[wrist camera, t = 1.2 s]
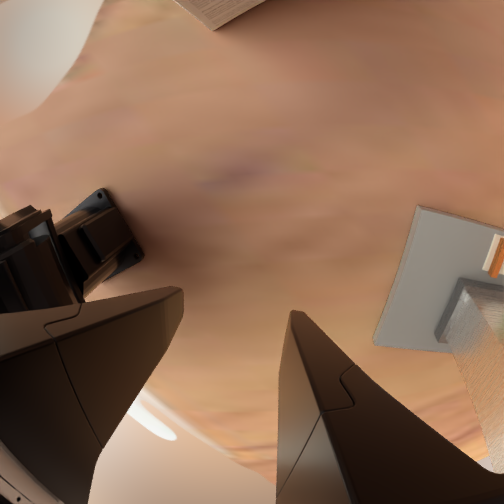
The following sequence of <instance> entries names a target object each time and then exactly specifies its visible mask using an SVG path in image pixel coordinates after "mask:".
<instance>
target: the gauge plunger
mask: <svg viewBox="0 0 504 504" xmlns="http://www.w3.org/2000/svg"><path fill="white" fill-rule="evenodd" d="M503 261H504V238H500V241H499V244H498V247H497V249H496V252H495V255H494V258H493V260H492V263H491V266H490V268H489V271H488V274H489V275H490V277H493V278H497V276H498V274H499V271H500V269H501V266H502V264H503ZM434 335H435V337H436V339H437V342H438V343H446V344H449V346H450V348H451V351H452V353H453V355H454V357H455V360H456V362H457V365H458V367H459V369H460V372H461V374H462V377H463V379H464V382H465V384H466V387H467V389H468V392H469V394H470V397H471V400H472V403H473V405H474V408H475V411H476V414H477V417H478V420H479V423H480V426H481V429H482V432H483V435H484V438H485V441H486V445H487V448H488V451H489V455H490V459H491V462H492V466H493V470H494V473H499V474H502V473H504V286H502V285H497V284H492V283H486V282H481V281H476V280H471V279H466V278H461V277H459V278H458V280H457V283H456V285H455V288H454V290H453V292H452V295H451V297H450V299H449V302H448V304H447V306H446V308H445V311H444V313H443V315H442V317H441V319H440V321H439V323H438V325H437V328H436V330H435V332H434Z"/></svg>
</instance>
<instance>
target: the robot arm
mask: <svg viewBox="0 0 504 504" xmlns="http://www.w3.org/2000/svg"><path fill="white" fill-rule="evenodd" d="M100 193H101V194H102V197H101V195H100ZM51 217H52V213H51V210H50V209H48V210H45V211H43V212H42V211H41V210H36V209H35V208H33V207H32V206H31V205H29V206H27V207H25V208H23V209H21V210H19V211H17V212H15V213H13V214H11V215H9V216H7V217H5V218H3V219H1V220H0V504H88V499H89V493H90V489H91V483H92V479H93V474H94V470H95V465H96V462H97V460H98V457H99V455H100V453H101V452H102V449H103V448H104V447H105V445H106V443H107V442H108V440H109V439H110V437H111V436H112V434H113V433H114V431H115V429H116V428H117V426H118V425H119V423H120V422H121V420H122V418H123V417H124V415H125V414H126V412H127V411H128V409H129V408H130V406H131V405H132V403H133V401H134V400H135V398H136V397H137V395H138V394H139V392H140V391H141V389H142V388H143V386H144V384H145V383H146V381H147V380H148V378H149V377H150V375H151V374H152V372H153V371H154V369H155V368H156V366H157V365H158V363H159V361H160V360H161V358H162V357H163V355H164V354H165V352H166V351H167V349H168V347H169V345H170V343H171V341H172V339H173V336H174V334H175V332H176V330H177V328H178V326H179V324H180V322H181V319H182V317H183V313H184V292H183V289H181V288H178V287H173V286H169V287H164V288H159V289H154V290H149V291H144V292H139V293H133V294H128V295H123V296H118V297H113V298H108V299H102V300H97V301H92V302H85V299H84V298H85V297H87V296H88V295H89V294H90V293H91V292H92V291H93V290H94V289H95V288H96V287H97V286H98V285H99V284H100V283H101V282H103V281H105V280H107V279H109V278H111V277H112V276H114V275H116V274H118V273H120V272H122V271H123V270H125V269H127V268H129V267H131V266H133V265H135V264H136V263H138V262H140V261H141V260H142V259H143V258H144V253H143V251H142V249H141V248H140V246H139V244H138V243H137V241H136V240H135V238H134V236H133V235H132V233H131V231H130V230H129V228H128V226H127V225H126V223H125V221H124V220H123V218H122V216H121V215H120V213H119V211H118V210H117V208H116V206H115V205H114V203H113V201H112V199H111V198H110V196H109V194H108V192H107V191H106V190H105V189H104V188H100V189H98V190H96V191H95V192H94V193H93V194H91V195H90V196H89V197H88V198H87V199H85V200H84V201H83V202H82V203H81V204H79V205H78V206H77V207H76V208H75V209H74V210H72V211H71V212H70V213H69V214H68V215H67V216H66V217H64V218H63V219H62V220H60V221H59V222H57V223H55V224H53V221H52V218H51ZM136 253H137V254H138V255H139V257H138V256H137V255H136ZM276 504H504V473H502V474H499V473H494V472H490V471H488V470H487V469H485V468H483V467H482V466H481V465H479V464H478V463H477V462H476V461H474V460H473V459H472V458H470V457H469V456H468V455H466V454H465V453H464V452H462V451H461V450H460V449H458V448H457V447H456V446H455V445H453V444H452V443H451V442H449V441H448V440H447V439H445V438H444V437H443V436H442V435H440V434H439V433H438V432H436V431H435V430H434V429H433V428H431V427H430V426H429V425H428V424H426V423H425V422H424V421H422V420H421V419H420V418H419V417H417V416H416V415H415V414H414V413H412V412H411V411H410V410H408V409H407V408H406V407H405V406H403V405H402V404H401V403H400V402H398V401H397V400H396V399H395V398H393V397H392V396H391V395H390V394H388V393H387V392H386V391H385V390H384V389H382V388H381V387H380V386H379V385H378V384H376V383H375V382H374V381H373V380H372V379H371V378H370V377H369V376H368V375H367V374H366V373H365V372H364V371H363V370H362V369H361V368H360V367H359V366H358V365H355V363H354V362H353V361H352V360H351V359H350V358H349V357H348V356H347V355H346V354H345V353H344V352H343V351H342V350H341V349H340V348H339V347H338V346H337V345H336V344H335V343H334V342H333V341H332V340H331V339H330V338H329V337H328V336H327V335H326V334H325V333H324V332H323V331H322V330H321V329H320V328H319V327H318V326H317V325H316V324H315V323H314V322H313V321H312V320H311V319H310V318H309V317H308V316H307V314H306V313H304V312H302V311H296V310H291V312H290V315H289V320H288V325H287V329H286V334H285V339H284V345H283V351H282V357H281V363H280V370H279V400H278V451H277V484H276Z"/></svg>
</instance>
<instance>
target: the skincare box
mask: <svg viewBox="0 0 504 504" xmlns="http://www.w3.org/2000/svg"><path fill="white" fill-rule="evenodd" d="M173 1H175V2H176V3H177V4H179V5H180V6H181V7H183V8H184V9H185V10H186V11H188V12H189V13H190V14H192V15H193V16H194V17H195V18H197V19H198V20H199V21H200V22H201V23H203V24H204V25H205V26H206V27H207V28H209V29H210V30H211V31H214V30H215V29H217V28H219V27H220V26H222V25H224V24H225V23H227V22H228V21H230V20H232V19H233V18H235V17H237V16H238V15H240V14H242V13H244V12H245V11H247V10H249V9H251V8H253V7H254V6H256V5H258V4H260V3H262V2H264V1H266V0H173Z"/></svg>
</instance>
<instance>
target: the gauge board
mask: <svg viewBox="0 0 504 504" xmlns="http://www.w3.org/2000/svg"><path fill="white" fill-rule="evenodd" d="M500 238H504V229H502V228H499V227H495V226H492V225H489V224H486V223H482V222H479V221H475V220H472V219H468V218H465V217H461V216H458V215H454V214H450V213H446V212H443V211H439V210H435V209H431V208H427V207H423V206H419V205H417V207H416V211H415V214H414V218H413V222H412V225H411V229H410V232H409V236H408V239H407V243H406V246H405V249H404V252H403V256H402V259H401V262H400V265H399V268H398V271H397V274H396V277H395V280H394V283H393V286H392V289H391V291H390V294H389V297H388V300H387V302H386V305H385V308H384V310H383V313H382V315H381V318H380V321H379V323H378V326H377V328H376V331H375V333H374V335H373V341H374V345H376V346H385V347H393V348H403V349H412V350H423V351H434V352H446V353H452V351H451V348H450V346H449V344H446V343H438V342H437V339H436V337H435V335H434V332H435V330H436V328H437V325H438V323H439V321H440V319H441V317H442V315H443V313H444V311H445V308H446V306H447V304H448V302H449V299H450V297H451V295H452V292H453V290H454V288H455V285H456V283H457V280H458V278H459V277H461V278H466V279H471V280H476V281H481V282H486V283H492V284H497V285H502V286H504V261H503V264H502V266H501V269H500V271H499V274H498V276H497V278H493V277H490V275H489V274H488V271H489V268H490V266H491V263H492V260H493V258H494V255H495V252H496V249H497V247H498V244H499V241H500Z"/></svg>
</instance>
